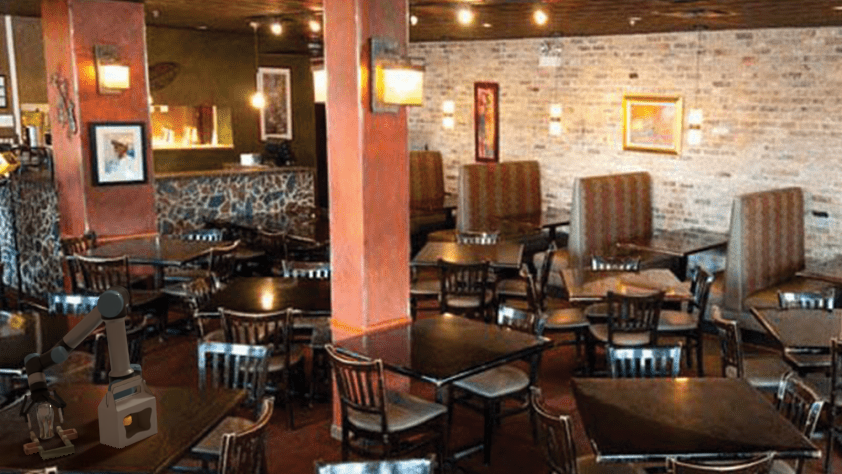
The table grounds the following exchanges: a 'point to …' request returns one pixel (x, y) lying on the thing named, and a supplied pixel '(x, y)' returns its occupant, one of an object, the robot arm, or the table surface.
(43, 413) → the beer glass
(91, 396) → the table surface
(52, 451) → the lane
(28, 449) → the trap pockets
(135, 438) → the gable box
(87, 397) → the table surface
